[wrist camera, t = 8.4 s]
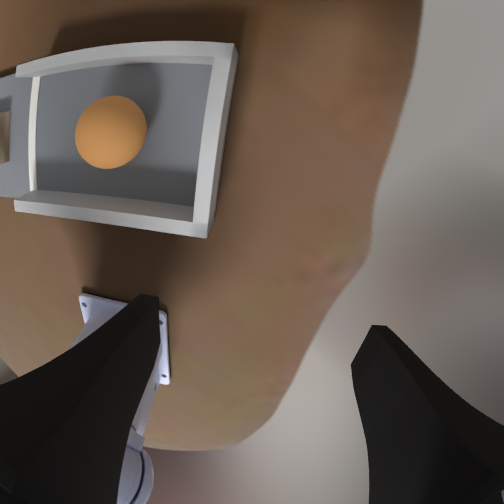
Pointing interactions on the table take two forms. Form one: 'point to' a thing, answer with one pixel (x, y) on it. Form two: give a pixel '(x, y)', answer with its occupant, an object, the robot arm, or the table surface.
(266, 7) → the table surface
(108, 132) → the ball
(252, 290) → the table surface
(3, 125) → the frame
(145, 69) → the tray
